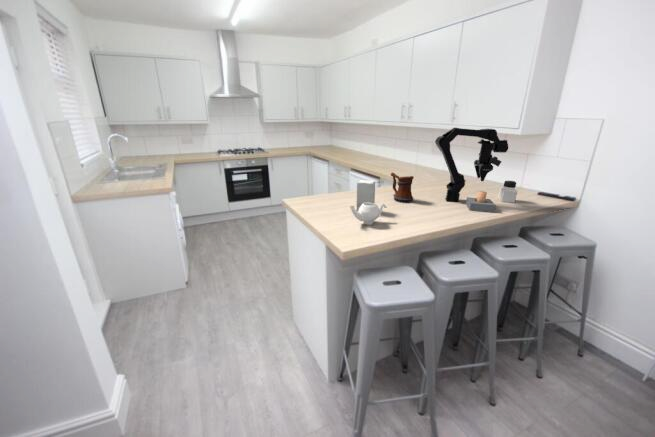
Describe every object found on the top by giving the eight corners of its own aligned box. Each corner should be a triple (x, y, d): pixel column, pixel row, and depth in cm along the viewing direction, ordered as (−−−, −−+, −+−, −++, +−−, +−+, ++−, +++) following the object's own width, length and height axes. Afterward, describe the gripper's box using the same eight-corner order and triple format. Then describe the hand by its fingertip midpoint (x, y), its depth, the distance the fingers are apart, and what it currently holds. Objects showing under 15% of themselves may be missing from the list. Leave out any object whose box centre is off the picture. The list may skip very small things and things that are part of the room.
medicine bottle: (514, 202, 170) (519, 182, 166) (501, 201, 172) (506, 182, 168) (510, 199, 177) (514, 180, 173) (497, 198, 178) (501, 179, 174)
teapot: (391, 223, 136) (393, 204, 132) (354, 229, 128) (355, 209, 124) (379, 216, 144) (381, 198, 141) (344, 222, 136) (345, 203, 132)
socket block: (469, 210, 156) (470, 203, 154) (465, 203, 167) (466, 197, 165) (494, 212, 153) (495, 205, 151) (488, 205, 164) (490, 199, 162)
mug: (382, 196, 179) (384, 172, 174) (396, 194, 184) (399, 170, 179) (402, 204, 164) (405, 178, 159) (417, 201, 170) (420, 176, 164)
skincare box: (374, 209, 154) (376, 180, 149) (370, 213, 148) (372, 183, 143) (359, 207, 157) (361, 179, 152) (355, 210, 152) (356, 181, 146)
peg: (476, 208, 158) (479, 192, 155) (474, 206, 162) (477, 191, 159) (484, 209, 157) (487, 193, 154) (482, 207, 161) (485, 191, 158)
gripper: (506, 155, 152) (500, 184, 157) (497, 150, 169) (491, 177, 174) (483, 154, 154) (477, 182, 160) (476, 150, 171) (471, 176, 177)
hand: (480, 179), depth 168 cm, fingers open, 9 cm apart
